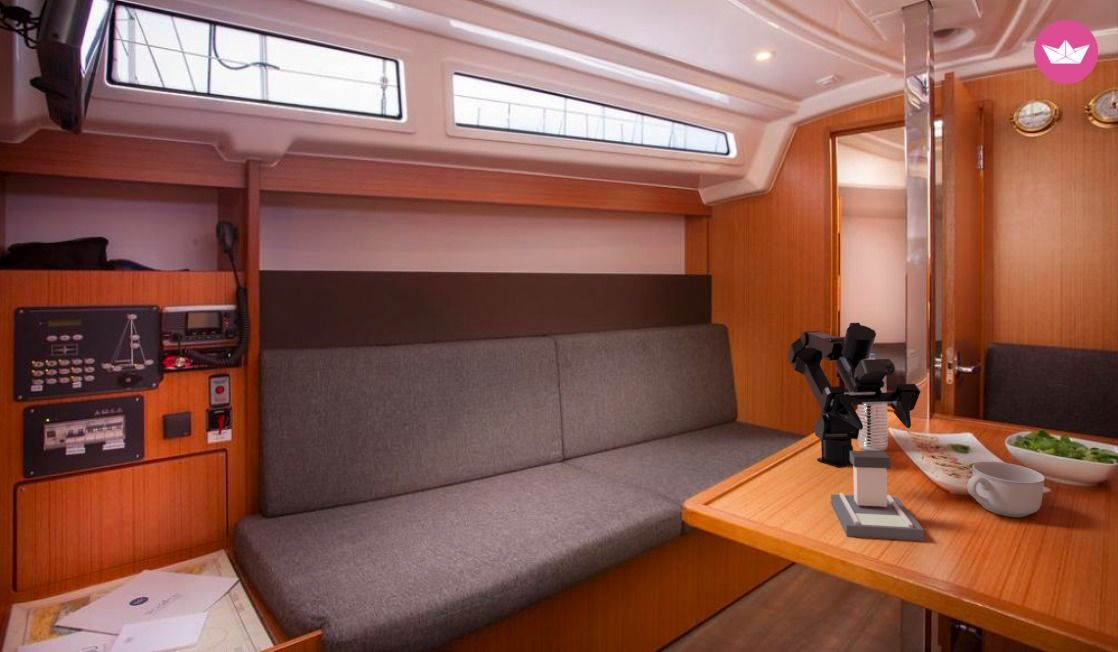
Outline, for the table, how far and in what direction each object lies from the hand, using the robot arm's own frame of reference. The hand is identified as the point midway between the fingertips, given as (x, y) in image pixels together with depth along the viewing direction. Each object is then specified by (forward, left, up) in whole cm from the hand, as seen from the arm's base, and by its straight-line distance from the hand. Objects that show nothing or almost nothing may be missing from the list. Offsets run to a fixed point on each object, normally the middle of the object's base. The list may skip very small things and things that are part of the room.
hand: (885, 427), depth 114 cm
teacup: (+14, +12, -15) cm, 24 cm away
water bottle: (-25, +29, -15) cm, 41 cm away
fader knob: (+3, -9, -13) cm, 16 cm away
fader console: (+5, -11, -15) cm, 19 cm away
